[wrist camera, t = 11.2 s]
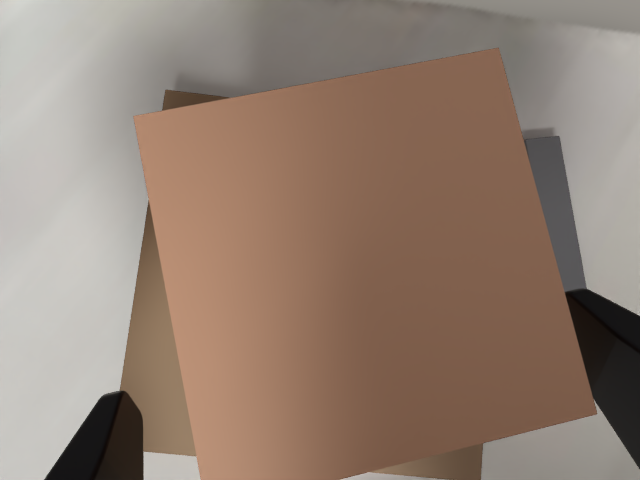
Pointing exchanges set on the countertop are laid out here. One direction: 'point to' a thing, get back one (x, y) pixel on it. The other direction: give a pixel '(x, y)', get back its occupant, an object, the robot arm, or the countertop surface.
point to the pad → (165, 375)
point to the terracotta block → (359, 272)
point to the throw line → (557, 207)
